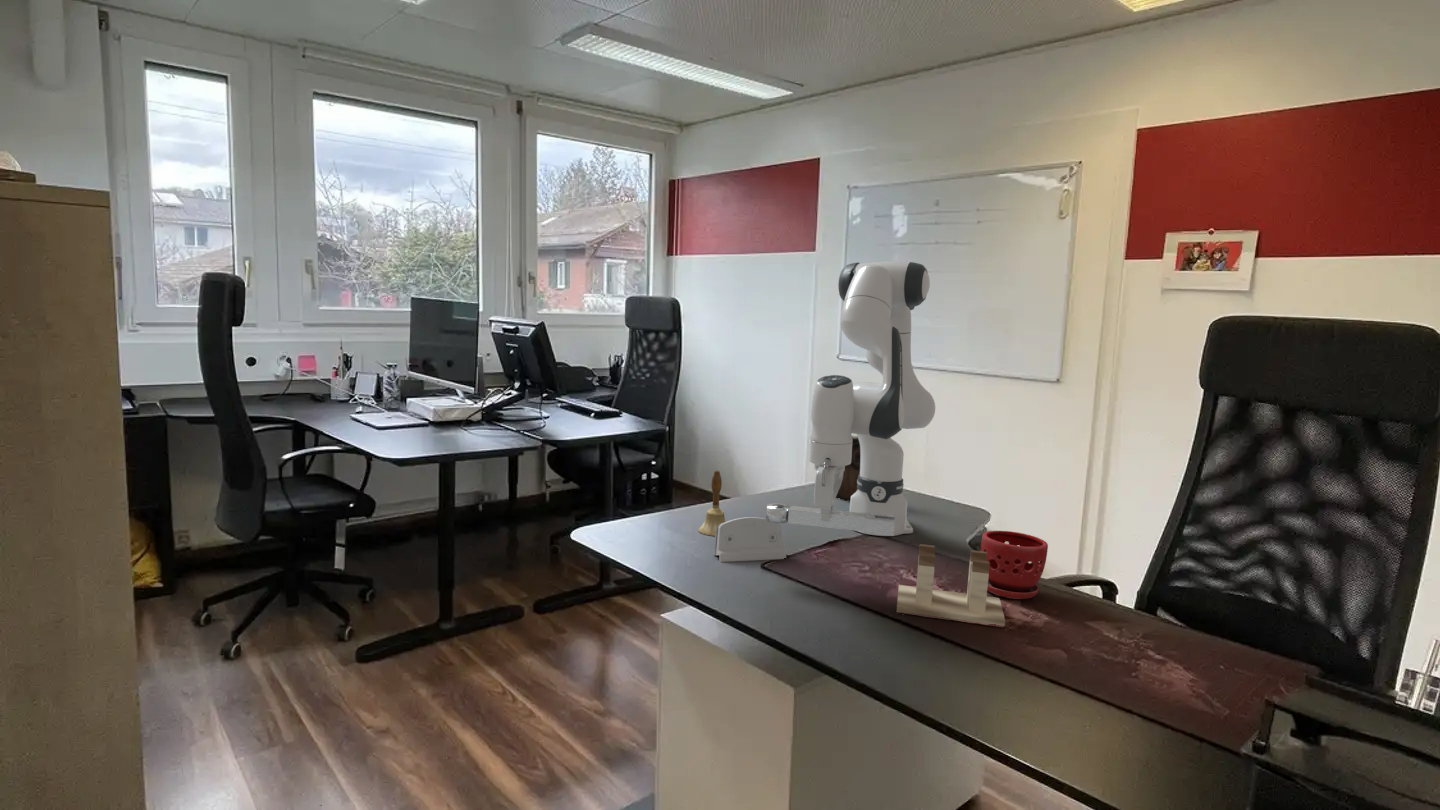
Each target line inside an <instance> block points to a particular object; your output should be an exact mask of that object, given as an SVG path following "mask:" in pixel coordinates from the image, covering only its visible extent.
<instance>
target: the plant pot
mask: <svg viewBox="0 0 1440 810" xmlns="http://www.w3.org/2000/svg"><path fill="white" fill-rule="evenodd" d="M1006 542H1007V543H1006ZM980 544H981V546H980V551H983V552H987V560H986V561H987V562H989V563H990V566H989V577H988V587H987V592H989V593H991V594H993V595H996V596H997V597H998V596H999V597H1001V596H1002V597H1001V598H1005V597H1006V598H1010V599H1011V598H1012V599H1013V600H1027V599H1030V598H1033V597H1035V596H1036V595H1038V593H1039V592H1040V591H1039V590H1040V589H1039V588H1040V587H1039V586H1038V585H1037V584H1038V582H1039V580H1040V579H1041V577H1042V576H1043V573H1044V570H1045V566H1046V562H1047V557H1048V549H1049V548H1048V547H1049V545H1048V542H1046V540H1045V539H1044V540H1043V539H1042V538H1039V537H1038V536H1034V535H1030V534H1027V533H1022V532H1017V531H1009V530H988V531H985V532H983V533H982V537H981V543H980ZM1006 598H1005V599H1006ZM1012 599H1011V600H1012Z"/></svg>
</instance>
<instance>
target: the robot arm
mask: <svg viewBox="0 0 1440 810" xmlns="http://www.w3.org/2000/svg"><path fill="white" fill-rule="evenodd" d="M929 276H930V275H929V273H928V270H927V267H925V265H924V264H921V263H917V262H914V261H910V262H903V261H893V260H883V261H874V262H873V261H872V262H861V263H860V262H853V263H849V264H847V265H845V266H844V267H843V268H842V269H841V271H840V274H839V278H838V282H837V284H838V286H837V287H838V289H837V290H838V293H839V294H838V295H839V298H841V300H842V301H843V304H842V309H841V313H840V327H841V330H842V332H843V334H844V335H845V336H846V338H847V339H848V340H849V341H850V342H851V343H853V344H855V346H857V347H859V348H861V349H864V350H866V355H865V356H866V359H867V362H868V365H870V367H872V368H873V369H874V370H876V371H878V373H880V374H881V376H882V383H879V382H869V381H863V382H862V381H861V382H853V380H852V379H851V378H850V377H847V376H844V375H836V374H832V375H825V376H822V377H820V378H819V379H817V380H816V382H815V386H814V390H813V395H812V401H811V409H810V410H811V411H810V421H811V425H812V426H811V427H812V429H811V433H810V436H809V446H808V447H809V451H808V461H809V462H810V463H811V464H814V466H813V467H814V469H815V471H816V472H815V473H816V474H815V478H814V491H813V506H814V508H818V509H821V521H824V522H829V520H830V514H831V512H830V511H831V510H834V503H835V500H836V496H837V493H838V491H839V488H840V486H841V483H842V479H843V473H844V471H845V466H847V465H849V464H851V458H852V441H853V440H852V436H853V435H856V436H858V439H859V443H860V456H861V457H860V474H859V475H858V479H857V488H858V490H857V491H856V492H855V493H854V494H853V495H852V496H851V499H850V501H849V502H850V503H849V511H848V512H856V513H866V512H869V513H879V514H889V515H895V525H894V535H893V536H892V537H894V536H899V535H903V534H913V533H914V528H913V527H912V525H911V524H910V522H909V521H908V519H907V518H908V512H907V511H908V501H907V499H906V498H905V497H904V496H903V494H902V493H903V491H904V478H903V468H904V467H903V466H904V457H905V454H904V450H903V448H902V446H901V445H900V444H899V443H898V442H897V441H895V440H894V439H892V437H894V436H896V435H897V434H898V433H899V432H901V431H902V429H904V430H912V429H913V430H915V429H925V428H926V427H927V426H928V425H929V424H931V422H932V421H933V418H934V417H935V413H936V402H935V399H934V397H933V395H932V394H931V393H930V392H929V391H928V390H927V389H926V388H925V387H924V386H923V385H922V384H921V382H920V380H918V377H917V375H916V373H915V371H914V368H913V365H912V350H911V349H912V348H911V343H912V341H911V340H912V313H911V311H913V310H914V309H915V307H918V306H920V305H921V304H923V302H924V301H925V300H926V299H927V295H928V293H929V290H930V286H931V285H930V277H929ZM852 434H853V435H852ZM854 531H856V530H854ZM856 532H857V533H858V532H859V533H862V534H865V535H872V536H879V537H889V536H888V535H879V534H869V533H864V531H856Z"/></svg>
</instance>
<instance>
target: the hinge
mask: <svg viewBox="0 0 1440 810" xmlns="http://www.w3.org/2000/svg"><path fill="white" fill-rule="evenodd" d="M780 524H781V523H771V522H768V521H767V520H766V518H763V517H754V516H753V517H752V516H746V517H739V518H733V519H730V520H727V521H726V520H725V522H724V523H722V524H719V525H718V526H717V529H716V536H715V543H714V554H713V555H714V556H719V557H718V558H719V562H720V563H722V562H723V563H725V562H726V563H727V562H729V563H730V562H744V561H745V562H748V561H749V562H750V561H769V560H771V561H772V560H785V559H784V558H786V559H787V551H786V548H785V544H784V539H783V534H782V529H781V525H780Z"/></svg>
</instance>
